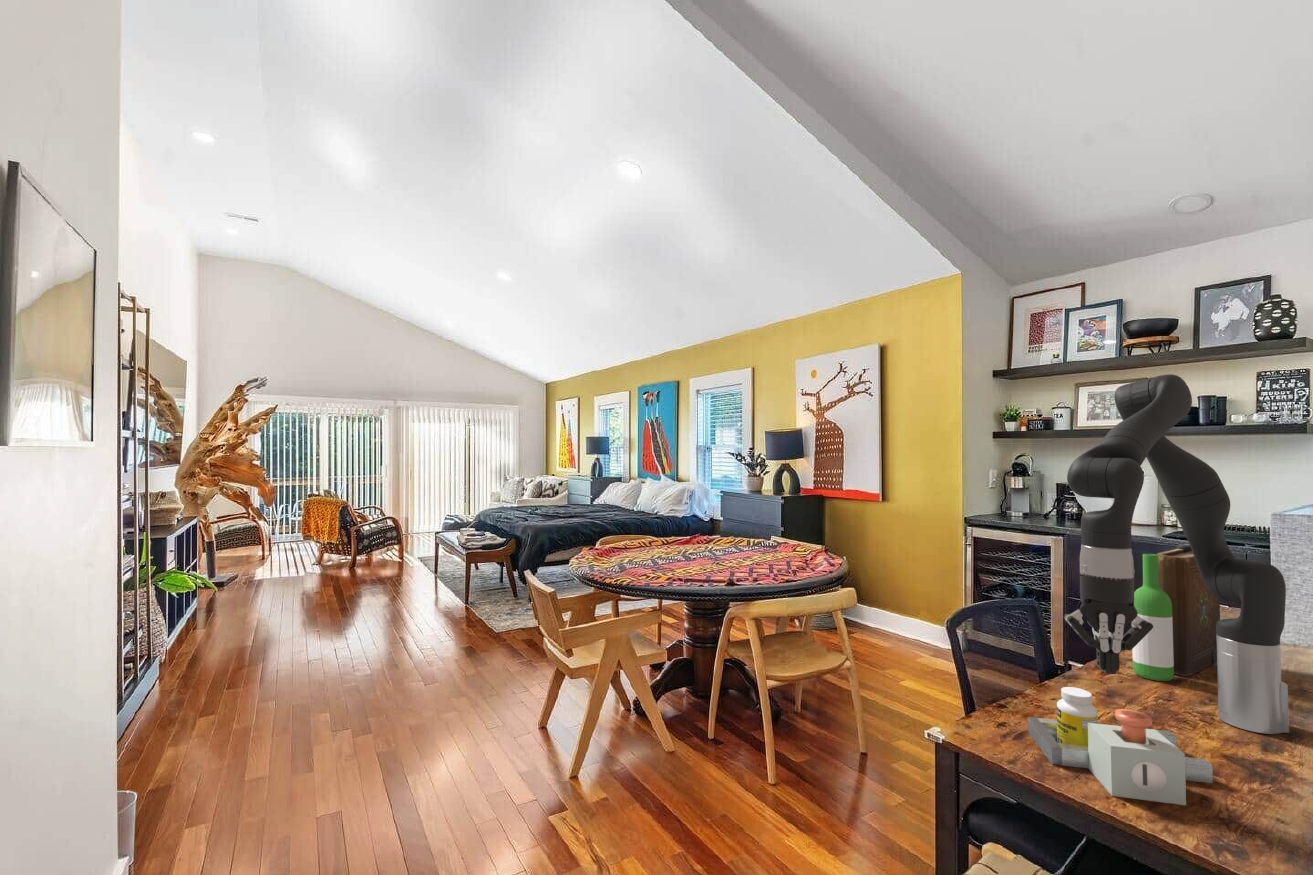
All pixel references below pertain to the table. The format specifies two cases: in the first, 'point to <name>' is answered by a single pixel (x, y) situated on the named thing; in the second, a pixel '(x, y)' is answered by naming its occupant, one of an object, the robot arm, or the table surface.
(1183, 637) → the decorative book
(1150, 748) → the plunger housing block
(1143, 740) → the plunger
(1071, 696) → the pill bottle
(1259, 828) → the table surface
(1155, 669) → the wine bottle
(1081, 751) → the rail
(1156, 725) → the table surface
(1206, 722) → the table surface
